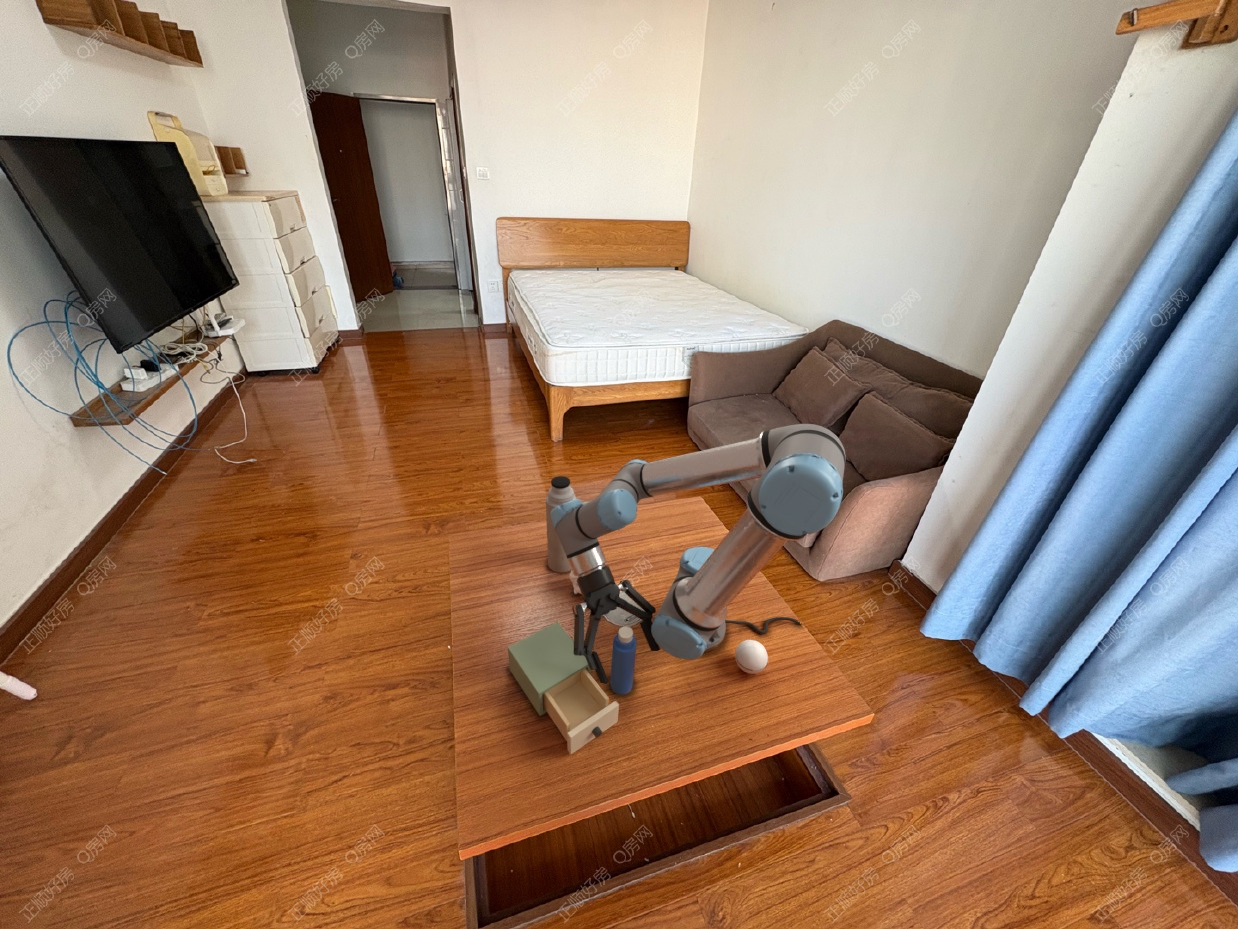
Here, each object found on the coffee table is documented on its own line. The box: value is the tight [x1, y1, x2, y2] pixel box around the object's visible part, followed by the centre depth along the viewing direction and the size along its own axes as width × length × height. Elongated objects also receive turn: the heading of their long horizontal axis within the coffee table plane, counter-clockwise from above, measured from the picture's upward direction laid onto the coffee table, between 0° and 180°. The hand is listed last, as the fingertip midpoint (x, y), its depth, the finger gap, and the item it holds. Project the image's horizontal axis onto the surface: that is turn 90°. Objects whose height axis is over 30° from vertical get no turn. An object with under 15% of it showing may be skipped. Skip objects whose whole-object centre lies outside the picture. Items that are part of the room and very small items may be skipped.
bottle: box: [609, 626, 638, 696], centre depth 107 cm, size 5×5×17 cm
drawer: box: [542, 669, 620, 755], centre depth 102 cm, size 14×11×6 cm
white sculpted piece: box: [568, 569, 582, 595], centre depth 131 cm, size 6×8×12 cm
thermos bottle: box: [545, 475, 577, 573], centre depth 136 cm, size 8×8×28 cm
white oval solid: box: [734, 639, 773, 675], centre depth 114 cm, size 10×7×7 cm
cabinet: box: [507, 621, 592, 717], centre depth 110 cm, size 14×13×8 cm
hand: (631, 666), depth 105 cm, fingers open, 13 cm apart
